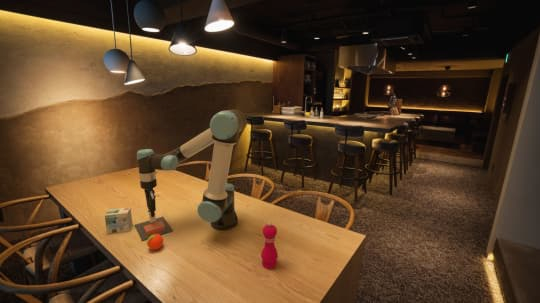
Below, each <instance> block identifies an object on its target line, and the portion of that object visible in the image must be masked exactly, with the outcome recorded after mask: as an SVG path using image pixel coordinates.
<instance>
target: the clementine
mask: <svg viewBox="0 0 540 303" xmlns="http://www.w3.org/2000/svg"><path fill="white" fill-rule="evenodd" d="M163 243H164V238H163V236H162V235H160V234H153V235H151V236H150V237H149V238H148V239H147V240H146V243H145V245H147V247H148V248H149V249H151V250H154V251H155V250H159V249H160V248H161V247H162V246H163V245H164V244H163Z"/></svg>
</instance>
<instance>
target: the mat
mask: <svg viewBox="0 0 540 303" xmlns="http://www.w3.org/2000/svg"><path fill="white" fill-rule="evenodd" d="M160 221H162V222H163V224H164V225H165V230H164V231H161V232H158V233H155V234H160V235H161V236H162V235H165V234H168V233H172V232H174V230H173V228H172V227H171V225H170V223H169V222H167V220H166V219H165V217H164V216H161V217H160V216H159V217H156V221H155V222H151V223H150V219H149V220H147V221H143V222H139V223H135V224H133V225H134V228H135V229H136V232H137V235H138V236H139V238H140V241H141V242H143V241H147V240H148V238H149V237H150V236H151V235H149V236H147V235H146V233H145V231H144V226H146V225H150V224H153V223H156V222H160ZM152 235H153V234H152Z"/></svg>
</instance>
